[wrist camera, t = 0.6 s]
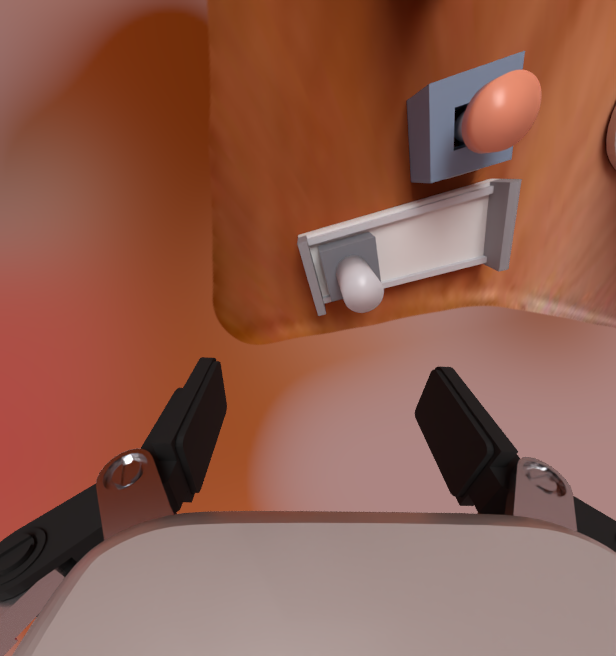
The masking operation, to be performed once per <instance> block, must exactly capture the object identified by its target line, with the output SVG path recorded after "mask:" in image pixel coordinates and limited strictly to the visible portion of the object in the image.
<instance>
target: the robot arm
mask: <svg viewBox="0 0 616 656" xmlns="http://www.w3.org/2000/svg"><path fill="white" fill-rule="evenodd" d="M606 145H607V154H608V157H609V161H610V163H611V164H612V165H613V167H614V168H615V169H616V106H615V108H614V110H613V113H612V116H611V120H610V123H609V126H608V132H607V139H606ZM226 409H227V403H226V396H225V390H224V383H223V378H222V370H221V364H220V362H219V361H216V359H215V358H204V357H202V358H200V359H199V361H198V363H197V364H196V366H195V368H194V370H193V372H192V373H191V375H190V377H189V379H188V380H187V382H186V384H185V386H184V387H183V388H178V389H177V390H176V391H175V392H174V394H173V395H172V397H171V399H170V400H169V402H168V404H167V405H166V407H165V409H164V411H163V412H162V414H161V415H160V417H159V419H158V421H157V422H156V424H155V425H154V427H153V429H152V430H151V432H150V434H149V435H148V437H147V439H146V440H145V442H144V444H143V445H142V447H141V449H132V450H128V451H125V452H123V453H121V454H119V455H118V456H116V457H114V458H113V459H112V460H110V461H109V462H108V463H107V464H106V465H105V466H104V468H103V469H102V470H101V472H100V473H99V475H98V477H97V481H96V484H94V485H93V486H91V487H89V488H88V489H86V490H84V491H83V492H81V493H79V494H77V495H76V496H74V497H72V498H71V499H69V500H67V501H66V502H64V503H62V504H61V505H59V506H57V507H55V508H54V509H52V510H50V511H49V512H47V513H45V514H44V515H42V516H40V517H39V518H37V519H35V520H34V521H32V522H30V523H28V524H27V525H25V526H23V527H22V528H20V529H18V530H17V531H15V532H14V533H12V534H11V535H9V536H8V537H6V538H5V539H4V540H3V541H1V542H0V656H4V655H5V654H6V653H7V652H8V651H9V649H11V647H12V646H13V645H14V644H15V643H16V642H17V641H18V640H17V638H16V637H17V636H18V635H19V634H20V633H21V632H22V631H23V630H24V629H25V628H26V626H28V625H29V623H30V622H31V621H32V620H33V619H34V618H35V617H37V618H36V619H35V621H34V622H33V624H32V625H31V627H30V629H29V630H28V632H27V633H26V635H25V636H24V638H23V639H22V641H21V643H20V644H19V646H18V647H17V649H16V650H15V652H14V654H13V655H12V656H616V521H615V520H613V519H611V518H610V517H608V516H606V515H605V514H603V513H601V512H599V511H598V510H596V509H594V508H593V507H591V506H589V505H588V504H586V503H584V502H583V501H581V500H579V499H578V498H576V497H574V496H573V493H572V490H571V487H570V485H569V484H568V482H567V481H566V479H565V478H564V477H563V476H562V475H561V474H560V473H559V472H557V471H556V470H555V469H554V468H552V467H551V466H549V465H548V464H546V463H544V462H542V461H540V460H538V459H535V458H530V457H523V458H522V459H520V458H519V457H518V455H517V453H518V451H517V449H516V448H515V447H514V446H513V444H512V443H511V442H510V441H509V439H508V438H507V437H506V435H505V434H504V433H503V432H502V430H501V429H500V428H499V427H498V425H497V424H496V423H495V421H494V420H493V419H492V417H491V416H490V415H489V414H488V412H487V411H486V410H485V409H484V407H483V406H482V405H481V403H480V402H479V401H478V400H477V398H476V397H475V396H474V394H473V393H472V392H471V391H470V389H469V388H468V387H467V386H466V384H465V383H464V382H463V381H462V379H461V378H460V377H459V375H458V374H457V373H456V372H455V370H454V369H453V368H451V367H436V368H435V370H432V371H431V373H430V376H429V379H428V381H427V383H426V386H425V388H424V390H423V393H422V395H421V398H420V400H419V402H418V405H417V407H416V410H415V418H416V420H417V422H418V424H419V426H420V429H421V431H422V433H423V435H424V437H425V439H426V441H427V444H428V446H429V448H430V450H431V452H432V454H433V456H434V459H435V461H436V463H437V465H438V467H439V469H440V472H441V474H442V476H443V478H444V480H445V482H446V484H447V487H448V489H449V491H450V493H451V494H452V495H453V496H455V497H456V499H457V501H458V503H459V505H460V506H474V505H475V507H476V509H477V511H478V514H465V513H406V512H405V513H404V512H317V511H316V512H314V511H311V512H310V511H228V512H227V511H226V512H225V511H223V512H195V513H182V514H177V513H176V512H177V511H179V510H180V508H181V506H182V503H183V502H192V500H193V497H194V494H195V493H199V492H200V490H201V487H202V484H203V481H204V478H205V475H206V472H207V469H208V466H209V463H210V460H211V457H212V454H213V451H214V448H215V445H216V442H217V438H218V435H219V432H220V429H221V426H222V423H223V420H224V417H225V414H226Z"/></svg>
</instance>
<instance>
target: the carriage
mask: <svg viewBox="0 0 616 656" xmlns="http://www.w3.org/2000/svg"><path fill="white" fill-rule="evenodd" d="M318 249H319V254H320V258H321V262H322V266H323V270H324V274H325V278H326V282H327V286H328V290H329V294H330V298H331V302H333V301H337V300H341V299H344V302H345V304H346V306H347V307H348V308H349V309H350V310H352V311H354V312H358V313H364V312H368V311H371V310H373V309H374V308H376V307H377V306H378V305H379V304H380V302H381V301H382V299H383V295H384V289H383V285H382V284H381V277H380V270H379V262H378V254H377V246H376V238H375V236H374V235H372V234H371V233H370V232H366V233H362V234H359V235H355V236H352V237H348V238H344V239H341V240H337V241H334V242H330V243H327V244H323V245H320V246H318Z"/></svg>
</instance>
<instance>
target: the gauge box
mask: <svg viewBox="0 0 616 656" xmlns="http://www.w3.org/2000/svg"><path fill="white" fill-rule="evenodd" d="M524 54H525V51H523V52H520V53H517V54H514V55H511V56H508V57H505V58H503V59H500V60H497V61H494V62H491V63H488V64H485V65H482V66H480V67H477V68H474V69H471V70H468V71H465V72H462V73H459V74H457V75H454V76H451V77H448V78H445V79H442V80H439V81H436V82H434V83H431V84H429V85H427V86H426V87H424V88H423V89H422V90H420V91H419V92H418V93H416V94H415V95H414V96H412V97H411V98H410V99H408V100H407V114H408V134H409V153H410V172H411V182H415V183H434V182H437V181H440V180H444V179H448V178H452V177H455V176H458V175H462V174H465V173H468V172H472V171H475V170H478V169H480V168H484V167H487V166H490V165H494V164H497V163H500V162H504V161H507V160H510V159H511V158H512V150H513V146H512V147H510V148H508V149H506V150H503V151H499V152H492V153H483V154H480V153H475V152H473V151H471V150H470V149H468V147H467V146H466V145H465V143H464V142H460V141H459V146H457V147H454V120H455V111H456V110H459V109H460V114H461V113H463V112H464V111H465V110H466V108H467V106H468V104H469V102H470V101H471V99H472V98H473V96H474V95H475V94H476V93H477V92H478V90H479V89H481V88H482V87H483V86H484V85H486V84H487V83H489V82H490V81H492V80H494V79H496V78H498V77H500V76H502V75H504V74H506V73H508V72H511V71H514V70H523V62H524Z"/></svg>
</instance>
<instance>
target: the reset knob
mask: <svg viewBox="0 0 616 656" xmlns="http://www.w3.org/2000/svg"><path fill="white" fill-rule="evenodd" d="M540 104H541V87H540V83H539V81H538V79H537V78H536V76H535V75H534V74H533V73H531V72H529V71H526V70H514V71H511V72H508V73H506V74H504V75H502V76H500V77H498V78H496V79H494V80H492V81H490V82H489V83H487V84H486V85H484V86H483V87H482V88H481V89H479V90H478V92H477V93H476V94H475V95H474V96H473V98H472V99H471V101H470V102H469V104H468V106H467V108H466V110H465V111H464V112H463V113H461V114H460V115H459V116H458V118H457V119H456V121H455V123H454V137H455V138H456V140H458V141H460V142H464V143H465V145H466V146H467V147H468V149H470V150H471V151H473V152H475V153H480V154H483V153H492V152H499V151H503V150H506V149H508V148H510V147H512V146H513V145H515V144H516V143H517V142H519V141H520V140H521V139H522V138H523V137H524V136H525V135H526V133H527V132H528V131H529V129H530V128H531V126H532V125H533V123H534V121H535V119H536V117H537V115H538V112H539V109H540Z"/></svg>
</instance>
